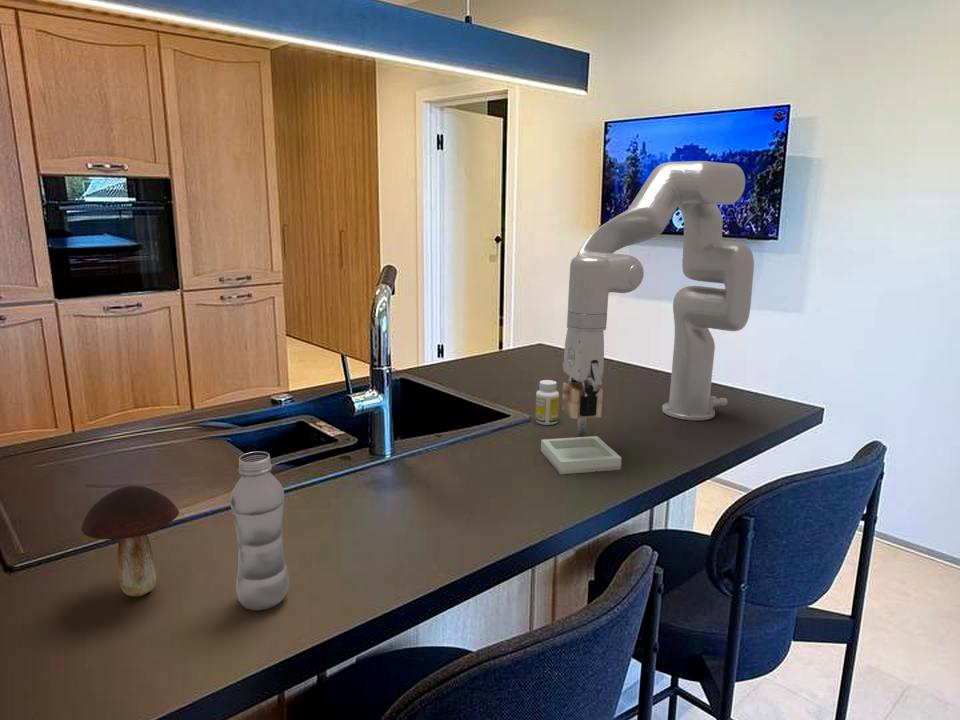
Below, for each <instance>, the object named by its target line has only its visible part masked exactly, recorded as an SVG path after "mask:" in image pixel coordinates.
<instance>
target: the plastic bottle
mask: <svg viewBox="0 0 960 720" xmlns="http://www.w3.org/2000/svg"><path fill="white" fill-rule="evenodd" d="M238 466H239V467H238V474H239V475H240V476H241V477H240V478H239V479H238V481H237V482H236V484H235V485H234V488H233V489H232V491H231V495H230V497H229V503H230V504H229V505H230V509H231V513H232V518H233V522H234V526H235V532H236V539H237V546H238V554H237V555H238V556H237V557H238V560H237V574H236V580H235V581H236V582H235V592H236V595H237V599H238V601H239V603H240V604H241V605H242V607H244V608H245V609H247V610H251V611H262V610H263V611H264V610H268V609H271V608H273V607H276V606H278V605H279V604H280V603H282V602H283V600H284V599H285V597H286V595H287V594H288V591H289V585H290V576H289V572H288V568H287V564H286V561H285V553H284V545H283V513H284V505H285V491H284V487H283V486H282V484H281V483H280V481H279V479H277V477H275V476H274V475H273V474H272V473H271V471H272V467H273V465H272V463H271V456H270V453H268V452H267V451H259V450H258V451H250V452H246V453H244V454H242V455H240V456H239V458H238Z"/></svg>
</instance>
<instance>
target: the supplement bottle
mask: <svg viewBox="0 0 960 720" xmlns="http://www.w3.org/2000/svg"><path fill="white" fill-rule="evenodd" d="M538 388H539V390H537V391H536V393H535V422H536V423H537V424H539V425H544V426H552V425H556V424H557V423H558V422H559V411H560V409H559V408H560V407H559V406H560V393H559V391H558V390H556V389H557V381H555V380H550V379H544V380H540V381H539V386H538Z"/></svg>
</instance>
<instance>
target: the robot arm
mask: <svg viewBox="0 0 960 720" xmlns="http://www.w3.org/2000/svg"><path fill="white" fill-rule="evenodd" d="M745 186H746V176H745V173H744V171H743V169H742V168H741V166H739V165H737V164H736V163H729V162H716V161H708V160H691V161H689V160H688V161H667V162H663V163H660V164H659V165H657V166H656V167H655V168H654V169H653V170H652V171H651V172H650V175H649V176H648V177H647V178H646V180H645V182H644V183H643V185H642V186H641V188H640V190H639V192H637V194H636V196H635V198H634V199H633V201H632V202H631V203H630V205H629V207H628V209H626V210H625V211H623V212H622V213H619V214H618V215H616V216H614V217H612V218H611V219H610V220H608V221H606V222H605V223H603V224H602V225H600V226H599V227H598V228H596V229H595V230H594V231H593V232H591V233H590V235H589V236H588V237H587V238H586V240H585V241H584V243H583V244H582V245H581V247H580V248H579V251H578V252H577V254H576V255H575V256H574V257H573V258H572V259H571V260H570V261H571V262H570V265H569V279H568V297H567V298H568V300H567V301H568V302H567V315H566V316H567V319H566V320H567V321H566V328H567V329H566V336H565V342H564V352H563V361H562V370H563V371H564V373H565V374H566V375H568V382H567V383H569V382H582V391H583V396H581V401H580V415H581V416H595V415H596V409H597V396H598V391H599V388H600V387H601V388H602V385H603V381H602V380H603V374H604V363H605V337H604V336H605V334H604V331H606V330H607V319H608V304H609V294H610V293H614V294H615V293H618V294H628V293H631V292H633V291H635V290H636V289H638V288H639V286H640V285H641V284H642V282H643V278H644V273H645V272H644V271H645V270H644V267H643V264H642V263H641V261H640V260H639V259H638V258H636V257H634V256H632V255H629V254H621V253H615V252H617V251H620V250H621V249H623V248H625V247H630V246H632V245H636V244H640V243H643V242H646V241H650V240H652V239H655V238H656V237H658V236H660V235H661V234H662V233H663V231H664V230H665V229H666V227H667V225H668V224H669V222H670V221H671V219H672V217H673V215H674V214H675V212H676V210H677V209H679V211H680V213H681V215H682V219H683V242H682V243H683V245H682V246H683V247H682V265H681V266H682V272H683V273H682V274H683V275H684V277H686V278H687V279H690V280H693V281H697V282H702V283H703V282H704V283H713V284H723V285H724V288H717V287H711V286H701V285H689V286H684V287H682V288H681V289H679V290H678V291H677V292H676V294H675V296H674V298H673V303H672V313H673V321H674V340H673V341H674V343H673V352H672V364H671V374H670V375H671V377H670V387H669V399H668V402H665V403H663V405H662V406H661V408H662V409H661V411H662V412H663V413H664V414H665V415H667V416H669V417H672V418H675V419H679V420H686V421H707V420H711V419H713V418H714V417H715V415H716V410H715V409H714V408H716V407H717V406H718V407H719V406H720V407H721V406H723V407H724V406H727V404H728V399H727V398H726V397H718V398H717V397H716V396H712V395H711V388H712V380H713V370H714V360H715V359H714V358H715V350H716V346H715V345H716V343H715V340H714V337H713V335H712V333H711V331H710V329H714V330H721V331H724V332H725V331H726V332H727V331H728V332H739V331H741V330H742V329H743V328H745V326H747V323H748V321H749V317H750V313H751V304H752V293H753V292H752V291H753V282H754V270H755V261H754V260H755V258H754V254H753V251H752V249H751V248H750V247H749V246H748V245H747V244H745V243H742V242H735V241H725V240H723V223H724V222H723V220H724V219H723V216H722V213H721V210H720V209H719V206H718V205H727V206H728V205H732V204H734V203H736V202H737V201H739V200H740V199H741V197H742V195H743V193H744V192H745V189H746V188H745ZM587 377H591V378H592V380H586V379H587ZM587 384H592V385H590V386H589V387H588V389H587Z"/></svg>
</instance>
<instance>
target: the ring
mask: <svg viewBox="0 0 960 720" xmlns="http://www.w3.org/2000/svg"><path fill="white" fill-rule="evenodd" d="M590 385H592V384H587V389H588V387H589V386H590ZM561 394H562V397H561V398H562V399H561V410H562V411H563V412H564V413H565V414H566V415H568V416H569V418H571V419H574V420H575V419H577V418H587V419H588V418H589V419H591V418H602V411H603V408H602V407H603V396H604V395H603V394H604V388H603V387H602V386H601V387H600V388H599V391H598V396H597V409H596V415H595V416H581V415H580V401H581V396H583V391H582V382H569V383H568V382H563V383H562V388H561Z"/></svg>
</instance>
